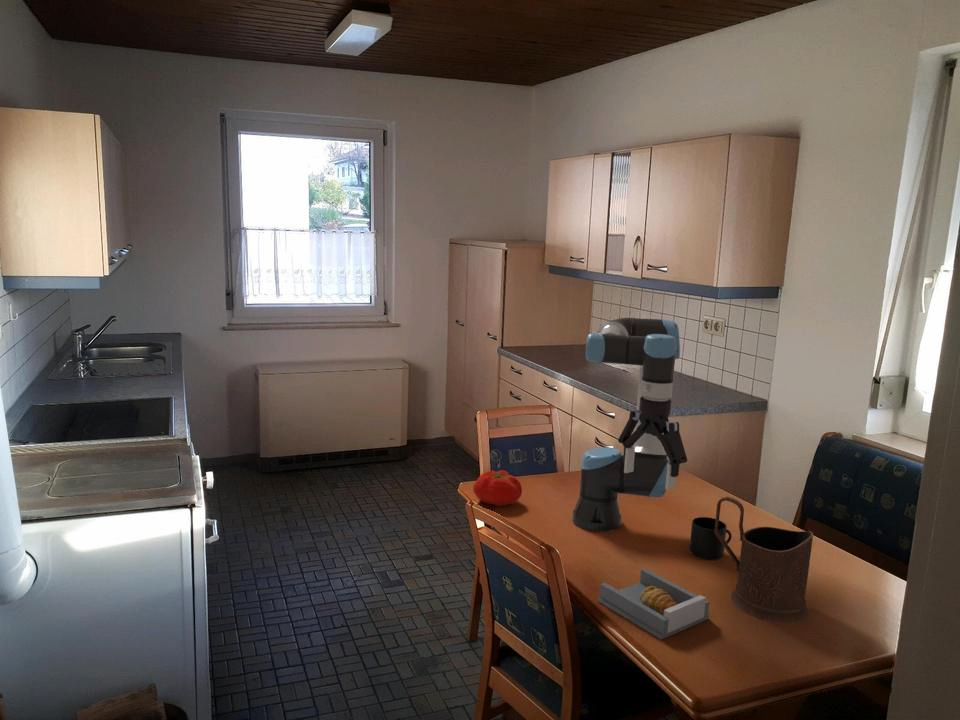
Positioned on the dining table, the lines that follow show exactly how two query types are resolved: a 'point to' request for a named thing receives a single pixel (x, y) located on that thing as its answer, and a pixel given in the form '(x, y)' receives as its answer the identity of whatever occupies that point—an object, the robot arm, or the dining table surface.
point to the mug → (707, 538)
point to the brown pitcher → (770, 571)
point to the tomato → (497, 488)
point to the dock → (659, 625)
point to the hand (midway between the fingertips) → (648, 480)
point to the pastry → (657, 599)
